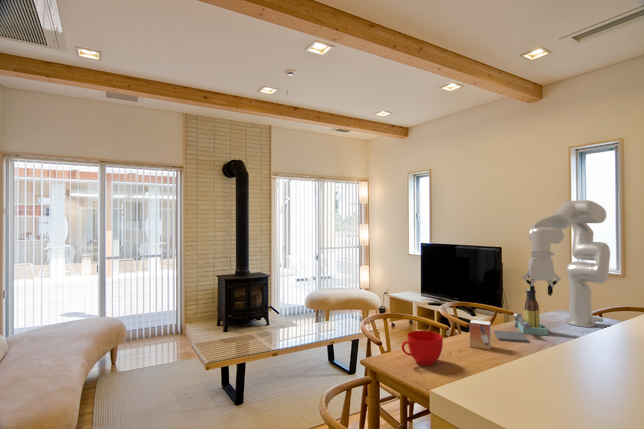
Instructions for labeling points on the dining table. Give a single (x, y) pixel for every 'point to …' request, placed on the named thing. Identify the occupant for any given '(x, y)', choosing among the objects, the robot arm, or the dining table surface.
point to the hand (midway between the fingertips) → (541, 294)
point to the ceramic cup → (424, 346)
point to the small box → (480, 334)
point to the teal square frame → (532, 329)
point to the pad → (511, 336)
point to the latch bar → (521, 320)
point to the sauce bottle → (532, 310)
